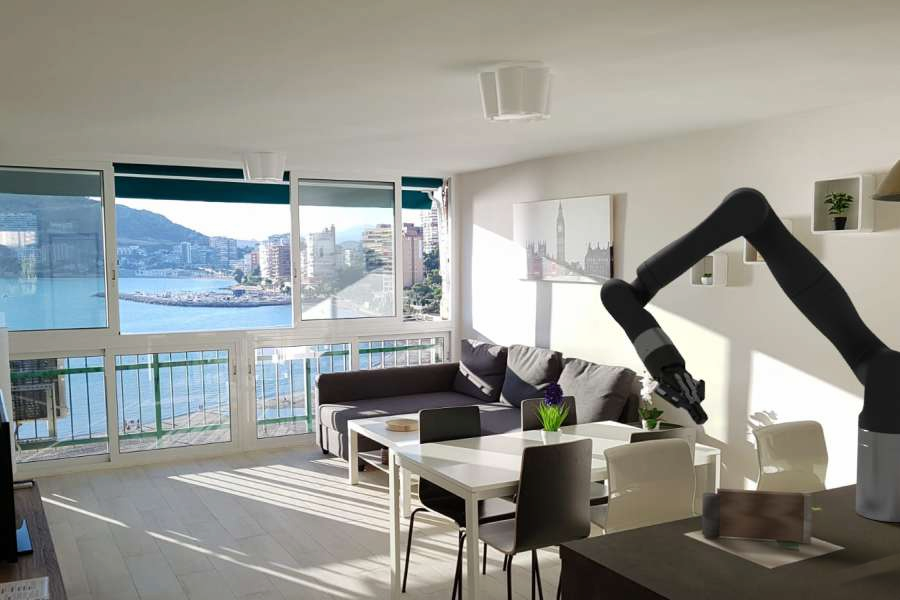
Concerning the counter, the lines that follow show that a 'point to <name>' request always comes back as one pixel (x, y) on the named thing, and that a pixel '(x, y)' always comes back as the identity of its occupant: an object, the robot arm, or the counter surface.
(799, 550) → the beige flat square sheet
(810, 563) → the counter surface
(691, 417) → the robot arm
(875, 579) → the counter surface
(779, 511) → the brown wood panel
